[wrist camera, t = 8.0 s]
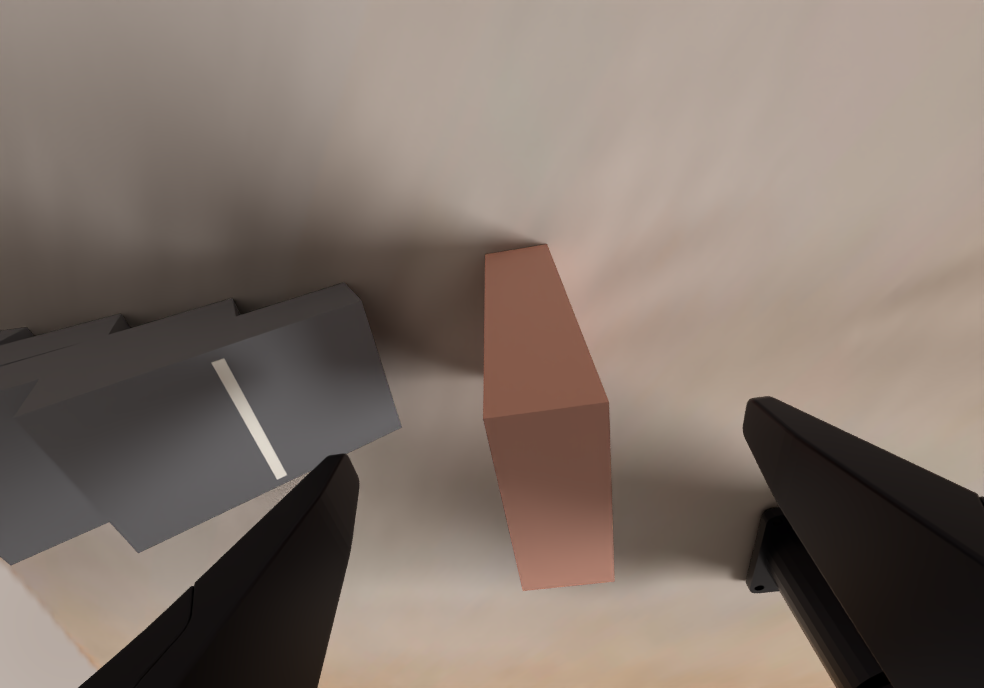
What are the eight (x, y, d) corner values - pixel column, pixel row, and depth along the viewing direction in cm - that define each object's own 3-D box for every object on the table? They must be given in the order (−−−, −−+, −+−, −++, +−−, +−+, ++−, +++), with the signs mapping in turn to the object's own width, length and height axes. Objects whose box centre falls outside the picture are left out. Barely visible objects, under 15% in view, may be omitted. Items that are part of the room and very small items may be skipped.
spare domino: (561, 371, 16) (616, 581, 9) (506, 379, 16) (520, 590, 9) (548, 243, 14) (611, 401, 7) (483, 254, 14) (480, 419, 7)
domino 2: (402, 428, 15) (137, 554, 12) (383, 399, 17) (145, 504, 14) (361, 300, 13) (12, 418, 9) (343, 282, 14) (40, 377, 11)
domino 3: (296, 440, 15) (10, 566, 12) (287, 411, 17) (32, 516, 14) (235, 317, 13) (-146, 437, 10) (232, 297, 14) (-95, 394, 11)
